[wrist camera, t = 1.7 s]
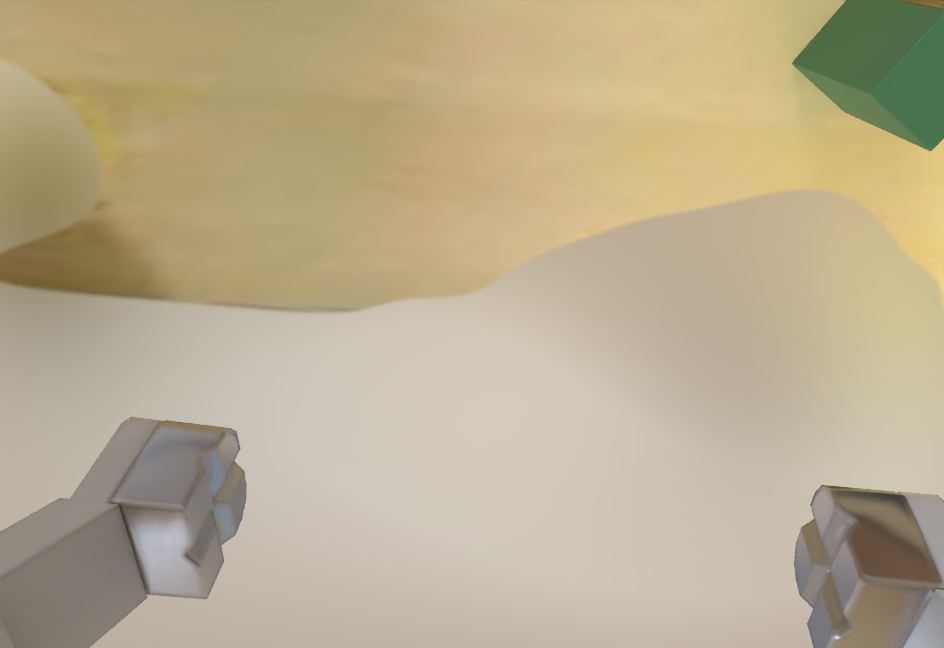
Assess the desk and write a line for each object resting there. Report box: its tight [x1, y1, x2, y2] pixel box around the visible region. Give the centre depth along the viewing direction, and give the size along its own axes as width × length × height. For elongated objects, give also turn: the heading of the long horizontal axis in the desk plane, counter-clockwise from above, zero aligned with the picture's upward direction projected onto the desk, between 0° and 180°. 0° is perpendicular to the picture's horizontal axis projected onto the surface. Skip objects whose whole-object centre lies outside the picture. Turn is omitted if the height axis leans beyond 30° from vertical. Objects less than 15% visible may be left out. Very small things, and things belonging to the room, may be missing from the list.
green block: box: [792, 0, 944, 151], centre depth 44 cm, size 5×5×9 cm
